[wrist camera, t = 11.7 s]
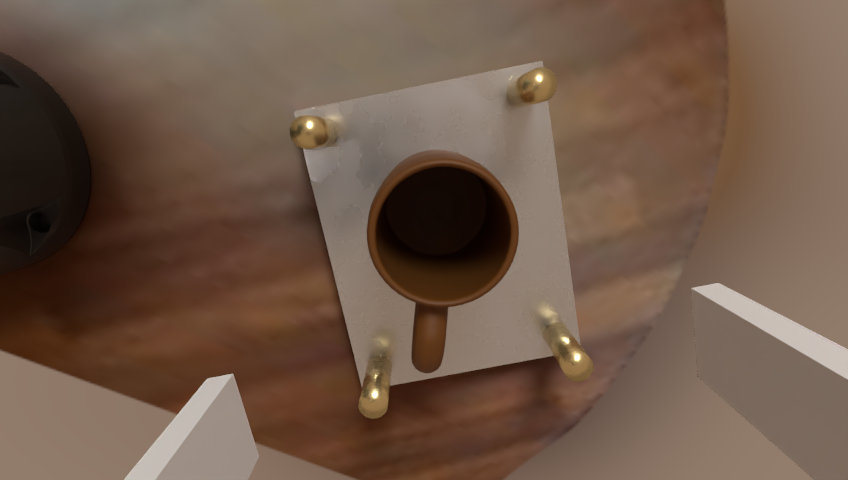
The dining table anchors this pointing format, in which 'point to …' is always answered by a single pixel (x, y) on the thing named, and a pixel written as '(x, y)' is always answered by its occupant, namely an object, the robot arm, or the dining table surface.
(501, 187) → the mug
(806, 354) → the robot arm
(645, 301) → the dining table surface
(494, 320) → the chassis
